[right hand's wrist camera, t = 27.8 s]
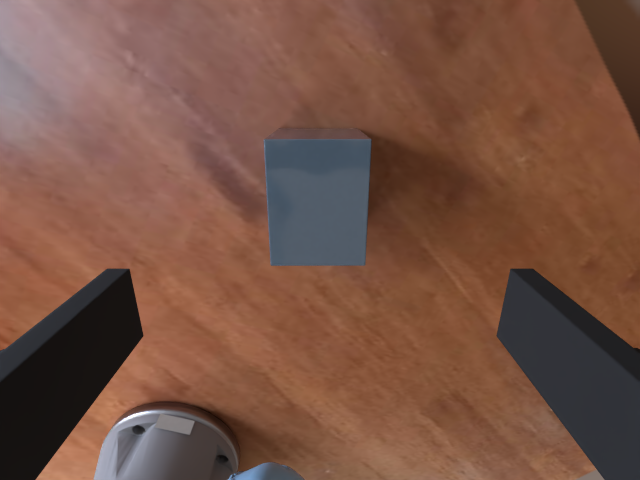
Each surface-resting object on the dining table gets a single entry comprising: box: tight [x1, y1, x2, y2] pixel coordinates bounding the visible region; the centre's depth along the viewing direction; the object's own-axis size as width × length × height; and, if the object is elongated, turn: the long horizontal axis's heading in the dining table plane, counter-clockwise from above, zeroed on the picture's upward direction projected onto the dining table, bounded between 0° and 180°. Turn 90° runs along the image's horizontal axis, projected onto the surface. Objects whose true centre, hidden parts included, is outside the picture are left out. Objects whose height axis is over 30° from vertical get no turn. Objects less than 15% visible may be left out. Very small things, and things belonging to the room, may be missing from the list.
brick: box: [264, 128, 372, 266], centre depth 27 cm, size 8×6×8 cm
